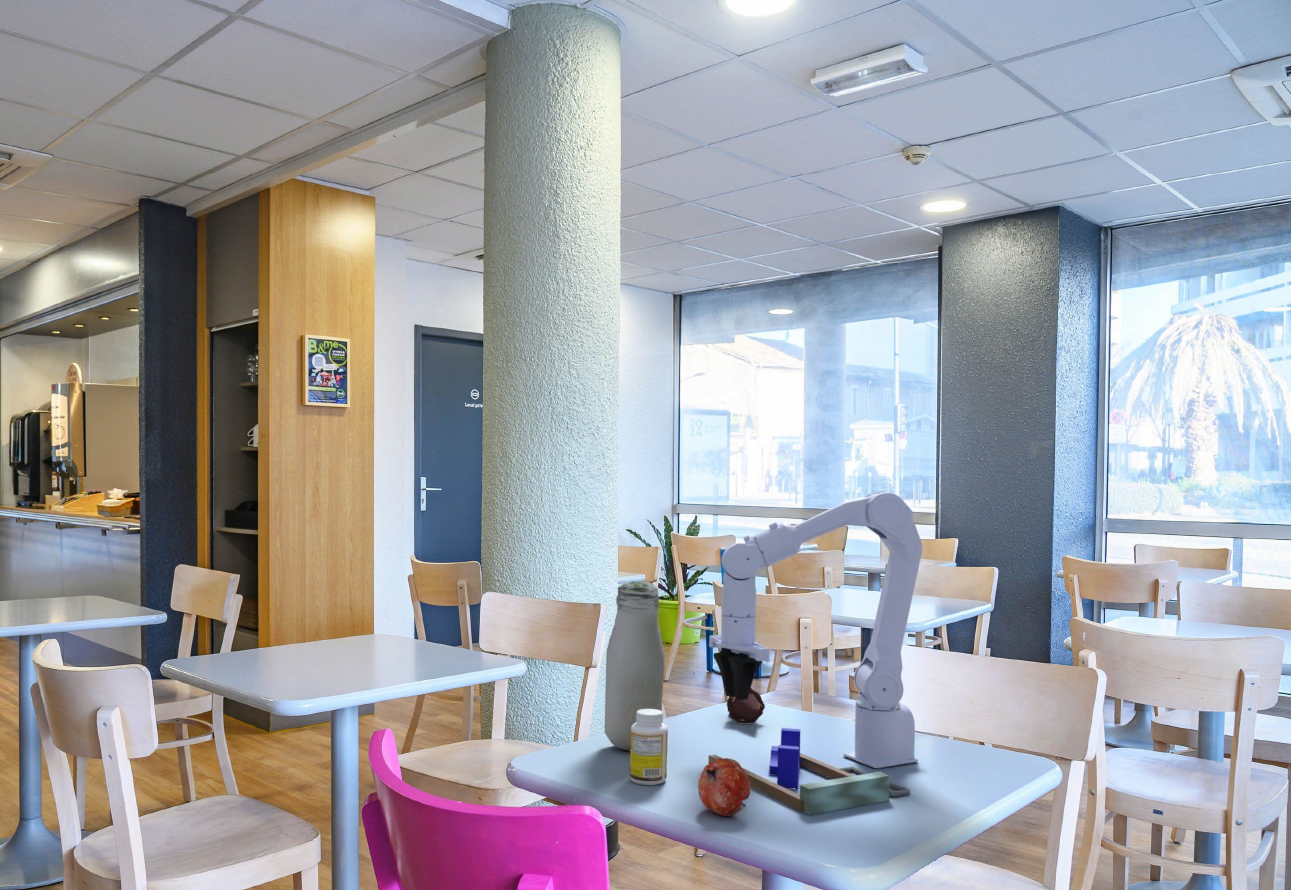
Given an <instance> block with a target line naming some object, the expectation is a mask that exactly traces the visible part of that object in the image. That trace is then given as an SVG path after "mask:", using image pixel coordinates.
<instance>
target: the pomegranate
mask: <svg viewBox="0 0 1291 890" xmlns="http://www.w3.org/2000/svg"><path fill="white" fill-rule="evenodd" d="M722 758H723V757H722ZM697 788H698V789H697V792H698V796H699V800H700V801H701V802H702V804H703V806H704V807H705V808H706V809H707V810H709V811H711V812H714V813H716V814H718V815H721V816H725V817H732V816H734V815H736V814H737V813H739V812H740V811H741V810H742V808H743V807H744V806H745V807H746V805H747V804H746V803H744V802H743V801H747V800H748V799H749V797H750V794H751V786H750V783H749V779H748V776H747V775H746V773H745V771H744V770H743V766H741V764H740V762H738V761H736V760H735V759H732V758H728V757H724V758H723V759H717V760H715V762H714V763H712V764H706V765H705V766H704V767H703V770H702V771H701V775H700V778H699V779H698V783H697Z"/></svg>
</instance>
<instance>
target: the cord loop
mask: <svg viewBox="0 0 1291 890" xmlns="http://www.w3.org/2000/svg"><path fill="white" fill-rule="evenodd" d="M839 769H840V770H842V771H845V772H847V773H850V772H853V773H856V774H858V775H863V774H869V773H870V772H867V771H865V770H862V769H860V768H857V767H855V766H847V767H842V768H839ZM889 788H891V789H894V790H895V791H892V790H890V789H889V797H892V798H894V797H900V796H905V795H907V796H908V795H909V794H911V790H910V789H909V788H907V787H905V786H902V785H900V784H897V783H894V782H892V781H890V780H889Z"/></svg>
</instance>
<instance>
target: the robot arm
mask: <svg viewBox="0 0 1291 890" xmlns="http://www.w3.org/2000/svg"><path fill="white" fill-rule="evenodd" d="M913 514H914V513H913V510H912V509H911V508H910V507H909V505H908V504H907V503H906V502H905V501H904V500H903V499H902V498H901V497H900V496H899V495H897V494H895V493H892V492H883V493H880V492H872V493H868V494H866V495H865V496H861V497H860V496H859V497H856V498H854V499H849V500H847V501H844V502H841V503H838V504H837V505H835V506H833V507H831V508H828V509H827V510H825V511H823V512H821V513H819V514H816V515H814V516H812V517H810V518H809V519H805V520H804V521H802V522H800V523H797V524H796V525H791V524H788V523H786V522H781V523H779V524H778V522H775V521H774V522H773V523H771V524H769V525H768V527H769V528H767V529H765V530H763V531H761V532H759V533H757V534H755V535H752V536H750V535H749V534H747V535H746V536H743V537H742V538H743V541H744V543H743V542H735V543H732V544H730V545H729V546H727V547H726V548H725V549H724V551H723V554H722V556H721V558H720V562H721V566H722V569H724V570H723V571H724V572H723V576H722V583H723V586H722V588H721V619H720V620H721V626H720V628H721V629H720V635H719V634H718V635H717V634H714V635H709V641H708V642H709V643H708V644H709V648H712V649H713V648H716V649H720V651H719V652H714V653H713V659H714V661H715V662H716V665H717V666H718V669H719V673H720V676H721V679H722V683H723V688H724V693H725V696H726V697H727V698H729V696H735V699H736V700H745V699H748V696H749V692H750V689H751V688H752V684H753V681H754V679H755V676H756V674H757V671H758V670H759V668H760V666H761V665H762V664H763V662H765V661H769V657H770V656H769V655H770V653H769V652H770V649H769V648H768V647H765V646H763V645H761V644H760V643H758V642H756V628H757V626H756V624H757V623H756V621H757V619H756V618H757V616H756V614H757V588H756V574H757V572H758V571H759V569H760V568H762V569H766V568H769V567H771V566H773V565H776V564H778V563H780V562H782V561H785V560H788V559H789V558H791V557H794V556H796V555H798V554H799V552H800V550H801V546H802V545H803V544H804V543H806V542H809V541H811V540H813V539H816V538H818V537H820V536H823V535H826V534H828V533H831V532H833V531H836V530H838V529H840V528H843V527H845V526H855V527H856V526H857V527H866V528H868V529H869V530H870V531H871V532H873V533H874V534H876V535H877V536H878V537H879V539H880V540H881V541H882V543H883V544H884V545H885V547H886V548H887V550H888V552H889V555H888V559H887V564H886V568H885V573H884V578H883V582H882V589H881V591H880V597H879V600H878V601H879V602H878V605H877V610H876V614H875V615H876V616H875V620H874V624H873V629H872V634H871V639H870V643H869V644H868V646H867V647H866V650H865V651H864V654H863V655H864V656H863V658H862V661H861V662H860V663H859V665H857V667H856V669H855V672H854V673H853V681H854V685H855V687H856V689H857V691H859V694H858V697H857V698H856V699H855V711H854V712H855V713H854V714H855V715H854V716H855V717H854V718H855V719H854V720H855V723H854V727H855V728H854V751H853V750H852V751H847V752H843V754H842V755H843V757H845V758H848V759H850V760H853V761H856V762H858V763H861V764H864V765H866V766H869V767H872V768H874V769H881V768H887V767H894V766H899V765H906V764H913V763H918V762H919V759H918V758H917V757H915V737H916V736H915V735H916V734H915V733H916V732H915V731H916V729H915V728H916V727H915V726H916V725H915V724H916V723H915V717H914V715H913V712H912V711H911V709H910V708H909V707H908V706H907V705H906V704H903V703H901V700H902V698H903V696H904V683H903V680H902V671H903V660H902V648H903V642H904V638H905V633H906V629H907V625H908V619H909V616H910V615H909V614H910V610H911V605H912V601H913V596H914V591H915V587H916V581H917V577H918V573H919V568H920V563H921V559H922V558H921V557H922V553H923V543H922V540H921V538H920V534H919V532H918V529H917V526H916V523H915V520H914V516H913Z"/></svg>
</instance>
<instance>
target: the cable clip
mask: <svg viewBox="0 0 1291 890" xmlns="http://www.w3.org/2000/svg"><path fill="white" fill-rule="evenodd" d="M780 734H781V735H780V744H778V745H777V746H776V745H772V746H771V749H770V760H769V766H768V767H769V770H768V771H769V773H768V774H772V775H771V776H777V780H776V781H777V782H776V784H778V785H780V786H782V787H784V788H786V789H788V788H795V789H794V790H799V789H798V788H799V780H798V779H799V776H800V768H801V766H800V753H801V728H800V729H799V728H787V727H781V730H780Z"/></svg>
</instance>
